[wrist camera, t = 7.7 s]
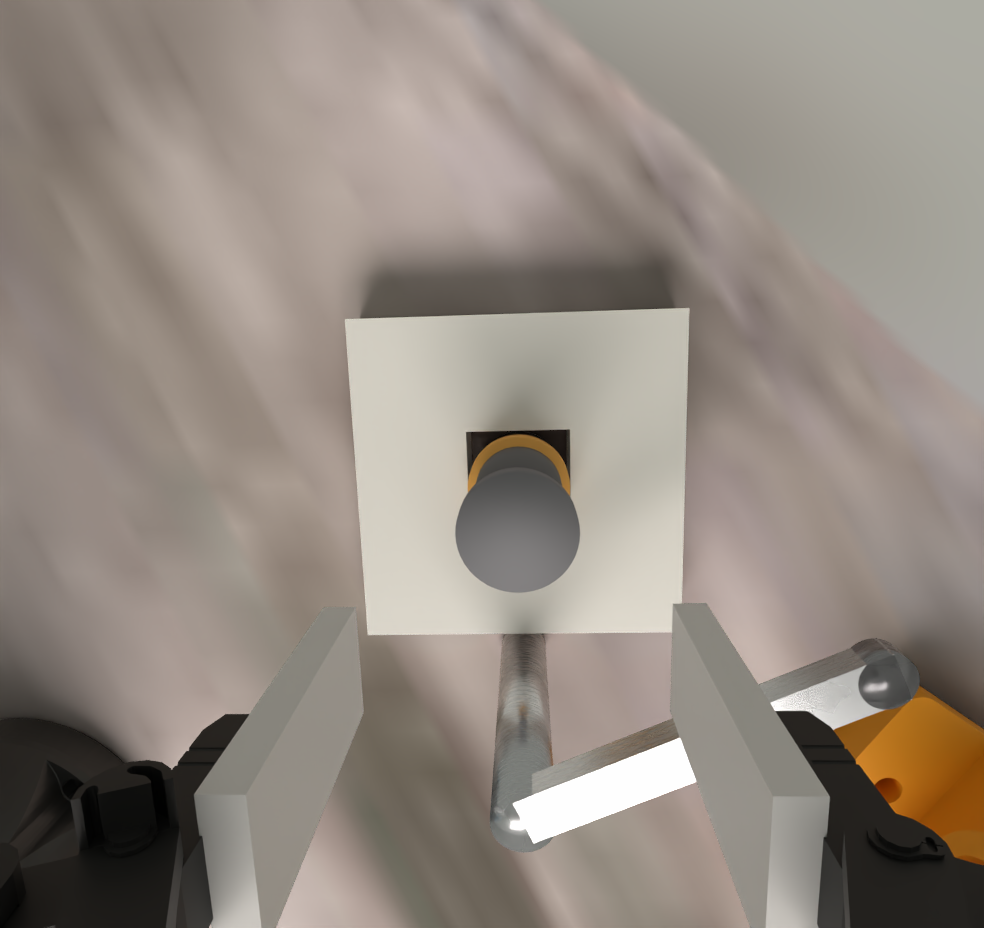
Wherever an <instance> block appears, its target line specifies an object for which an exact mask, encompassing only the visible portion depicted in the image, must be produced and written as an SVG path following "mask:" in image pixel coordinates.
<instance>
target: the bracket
mask: <svg viewBox="0 0 984 928" xmlns="http://www.w3.org/2000/svg"><path fill="white" fill-rule="evenodd" d="M834 732H835V733H836V735H837V736H838V737H839V739H840V740H841V741H842V743H843V744H844V747H845V749H848V751H849V752H850V753H851V755H852V756H853V757H854V759H855V760H856V764H859V765H860V767H861V768H862V769H863V771H864V772H865V773H866V775H867V776H868V777H869V779H870V780H871V781H872V783H873V784H874V785H875V787H876V788H877V789H878V791H879V792H880V793H881V795H882V796H883V797H884V799H885V800H886V801H887V803H888V804H889V805H890V807H891V808H892V809H893V811H894V812H895V813H896V814H899V815H902V816H905V817H908V818H911V819H914V820H916V821H917V822H919V823H921V824H923V825H925V826H926V827H928V828H930V829H932V830H933V831H934V832H935V833H936V834H937V835H938V836H940V837H941V838H942V839H943V840H944V841H945V842H946V843H947V844H948V846H949V848H950V850H951V852H952V853H953V855H954V857H956V858H959V859H962V860H965V861H969V862H972V863H976V864H980V865H984V729H982V728H981V727H980V726H978V725H977V724H975V723H974V722H972V721H971V720H969V719H968V718H966V717H965V716H963V715H962V714H960V713H959V712H958V711H956V710H955V709H953V708H952V707H950V706H949V705H947V704H946V703H944V702H943V701H941V700H940V699H938V698H937V697H936V696H934V695H933V694H931V693H930V692H928V691H927V690H925V689H924V688H922V687H921V686H919V688H918V690H917V692H916V694H915V696H914V697H913V698H912V700H910V701H909V702H908V703H906V704H905V705H903V706H901V707H898V708H895V709H889V710H883V711H881V712H878V713H875V714H873V715H870V716H867V717H865V718H862V719H859V720H857V721H854V722H852V723H849V724H846V725H844V726H841V727H838V728H836V729H835V730H834Z"/></svg>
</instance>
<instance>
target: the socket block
mask: <svg viewBox="0 0 984 928" xmlns="http://www.w3.org/2000/svg"><path fill="white" fill-rule="evenodd" d="M345 328H346V342H347V356H348V369H349V383H350V397H351V411H352V424H353V438H354V452H355V465H356V479H357V493H358V506H359V520H360V534H361V547H362V561H363V575H364V588H365V602H366V616H367V629H368V635H425V634H536V633H646V632H672V613H673V604H682V576H683V537H684V498H685V459H686V420H687V382H688V343H689V308H673V309H642V310H612V311H581V312H550V313H520V314H489V315H458V316H428V317H397V318H366V319H345ZM525 430H566V441H567V471H568V475H569V479H570V498H571V500H572V501H573V504H574V506H575V509H576V512H577V516H578V520H579V525H580V541H579V546H578V550H577V553H576V556H575V558H574V560H573V562H572V564H571V565H570V566H569V568H568V569H567V570H566V572H565V573H564V574H563V575H562V576H561V577H559V578H558V579H557V580H556V581H554V582H553V583H551V584H550V585H548V586H546V587H543V588H541V589H538V590H535V591H530V592H522V593H514V592H506V591H501V590H498V589H495V588H493V587H490V586H488V585H486V584H485V583H483V582H482V581H480V580H479V579H478V578H476V577H475V576H474V575H473V574H472V573H471V572H470V571H469V569H468V568H467V567H466V565H465V564H464V562H463V560H462V559H461V557H460V554H459V552H458V548H457V544H456V537H455V527H456V521H457V517H458V514H459V510H460V507H461V505H462V502H463V500H464V498H465V497H466V495H467V493H468V479H469V474H470V471H471V468H472V446H471V432H484V431H525Z"/></svg>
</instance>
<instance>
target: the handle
mask: <svg viewBox="0 0 984 928" xmlns="http://www.w3.org/2000/svg"><path fill="white" fill-rule="evenodd" d="M919 684H920V676H919V672H918V670H917V668H916V666H915V665H914V664H913V663H912V662H911V661H910V660H909V659H908V658H907V657H905V656H904V655H903V654H902V653H901V652H900V651H899V650H897V649H896V648H895V647H894V646H893V645H892V644H890V643H889V642H887V641H884V640H881V639H877V638H875V639H867V640H863V641H861V642H858V643H857V644H855V645H854V646H852V647H851V648H850V649H847V650H845V651H842V652H840V653H837V654H835V655H832V656H830V657H827V658H824V659H822V660H819V661H817V662H814V663H812V664H809V665H807V666H804V667H802V668H799V669H797V670H794V671H792V672H789V673H786V674H784V675H781V676H779V677H776V678H774V679H771V680H769V681H766V682H764V683H761V684H759V687H760V688H761V690H762V691H763V693H764V694H765V696H766V697H767V699H768V701H769V702H770V704H771V705H772V707H773V708H774V710H775V711H808V712H810V713H811V714H813V715H814V716H816V717H817V718H819V719H820V720H822V721H823V722H824V723H826V724H827V725H829V726H830V727H831V728H832V729H836V728H838V727H841V726H844V725H846V724H849V723H852V722H854V721H857V720H859V719H862V718H865V717H867V716H870V715H873V714H875V713H878V712H881V711H883V710H889V709H895V708H898V707H901V706H903V705H905V704H906V703H908V702H909V701H910V700H912V698H913V697H914V696H915V694H916V692H917V690H918V688H919ZM694 782H696V780H695V777H694V774H693V772H692V769H691V766H690V763H689V761H688V758H687V755H686V753H685V750H684V747H683V745H682V742H681V739H680V737H679V734H678V731H677V728H676V726H675V723H674V720H673V718H672V719H670V720H667V721H665V722H662V723H660V724H657V725H655V726H652V727H650V728H647V729H645V730H642V731H640V732H637V733H634V734H632V735H629V736H627V737H624V738H622V739H619V740H617V741H614V742H612V743H609V744H607V745H604V746H602V747H599V748H596V749H594V750H591V751H589V752H586V753H584V754H581V755H579V756H576V757H574V758H571V759H569V760H566V761H564V762H561V763H558V764H556V765H553V758H552V742H551V727H550V711H549V695H548V680H547V664H546V649H545V640H544V637H543V635H542V634H541V633H536V634H505V635H504V637H503V640H502V652H501V666H500V681H499V696H498V710H497V725H496V739H495V754H494V768H493V783H492V798H491V812H490V828H491V831H492V834H493V836H494V837H495V839H496V840H497V841H498V842H499V843H500V844H501V845H503V846H504V847H506V848H508V849H510V850H513V851H516V852H532V851H536V850H538V849H541V848H542V847H544V846H545V845H547V844H548V843H549V842H550V841H551V839H552V838H553V836H555V835H557V834H560V833H562V832H565V831H568V830H570V829H573V828H576V827H578V826H581V825H583V824H586V823H589V822H591V821H594V820H597V819H599V818H602V817H604V816H607V815H610V814H612V813H615V812H618V811H620V810H623V809H626V808H628V807H631V806H633V805H636V804H639V803H641V802H644V801H647V800H649V799H652V798H654V797H657V796H660V795H662V794H665V793H668V792H670V791H673V790H675V789H678V788H681V787H683V786H686V785H689V784H691V783H694Z"/></svg>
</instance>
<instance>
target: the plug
mask: <svg viewBox="0 0 984 928" xmlns="http://www.w3.org/2000/svg"><path fill="white" fill-rule="evenodd" d="M455 537H456V544H457V548H458V552H459V554H460V557H461V559H462V560H463V562H464V564H465V565H466V567H467V568H468V569H469V571H470V572H471V573H472V574H473V575H474V576H475V577H476V578H478V579H479V580H480V581H482V582H483V583H485V584H486V585H488V586H490V587H493V588H495V589H498V590H501V591H506V592H514V593H522V592H530V591H535V590H538V589H541V588H543V587H546V586H548V585H550V584H551V583H553V582H554V581H556V580H557V579H558V578H559V577H561V576H562V575H563V574H564V573H565V572H566V570H567V569H568V568H569V566H570V565H571V564H572V562H573V560H574V558H575V556H576V553H577V550H578V546H579V541H580V525H579V520H578V516H577V512H576V509H575V506H574V504H573V501H572V500H571V498H570V479H569V475H568V471H567V468H566V465H565V463H564V461H563V459H562V457H561V456H560V455H559V453H558V452H557V451H556V450H555V449H554V448H553V447H552V446H551V445H549V444H548V443H547V442H546V441H545V440H543V439H542V438H541V437H539V436H537V435H535V434H533V433H530V432H525V431H513V432H509V433H506V434H504V435H502V436H500V437H498V438H497V439H495V440H494V441H493V442H491V443H490V444H489V445H487V446H486V447H485V448H484V449H483V450H482V451H481V452H480V453H479V455H478V456H477V458H476V459H475V461H474V463H473V465H472V468H471V471H470V474H469V479H468V493H467V495H466V497H465V498H464V500H463V502H462V505H461V507H460V510H459V514H458V517H457V521H456V527H455Z"/></svg>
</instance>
